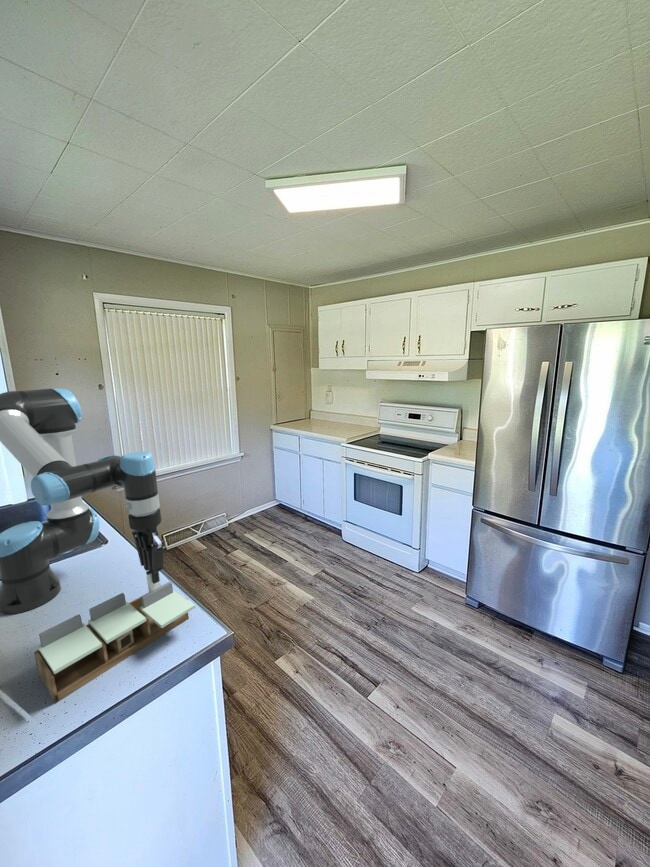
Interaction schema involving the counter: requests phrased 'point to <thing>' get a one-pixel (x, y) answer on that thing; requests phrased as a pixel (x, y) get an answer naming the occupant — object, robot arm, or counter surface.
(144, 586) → the counter surface
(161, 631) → the box
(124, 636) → the letter cube
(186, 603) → the lid
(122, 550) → the counter surface
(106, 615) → the lid
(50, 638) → the lid
